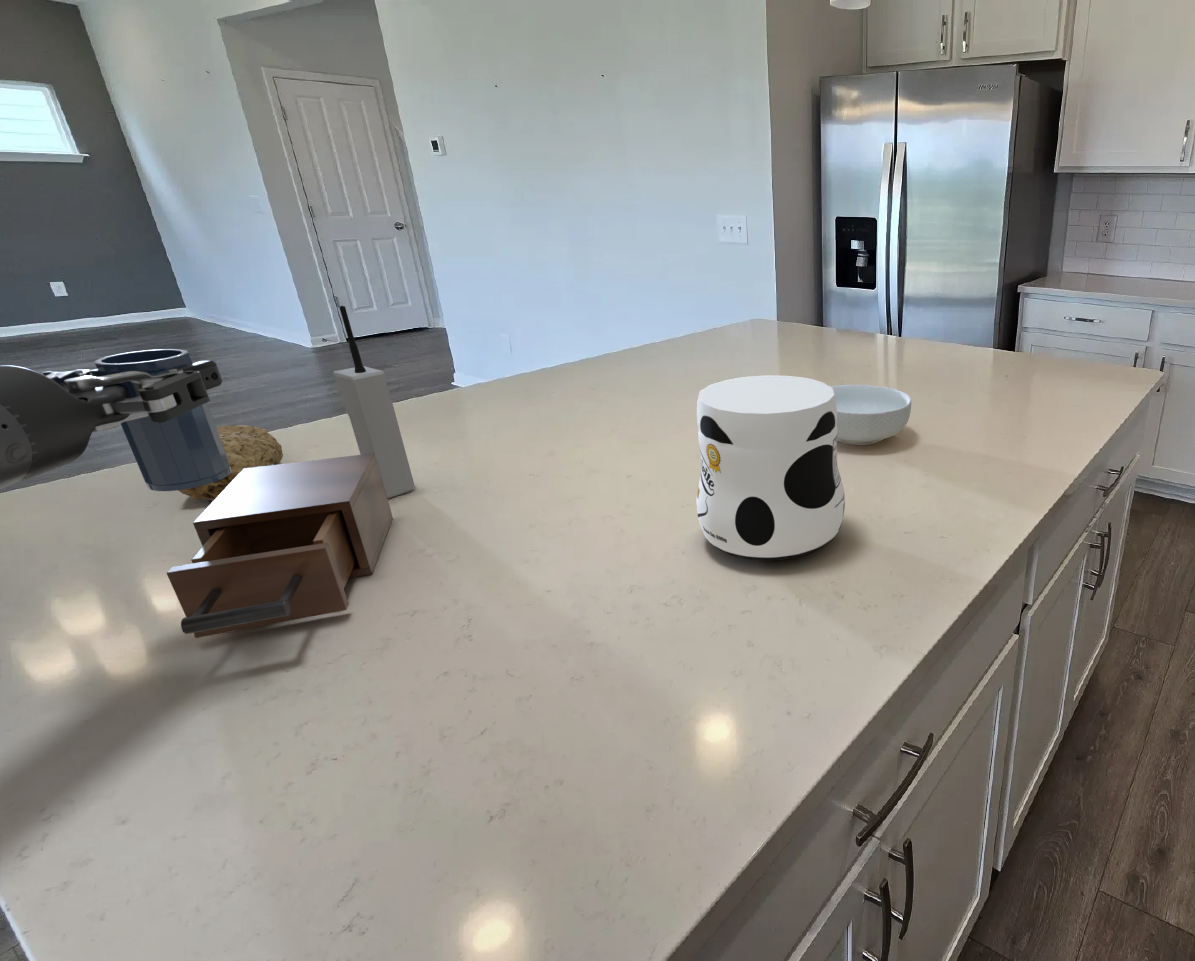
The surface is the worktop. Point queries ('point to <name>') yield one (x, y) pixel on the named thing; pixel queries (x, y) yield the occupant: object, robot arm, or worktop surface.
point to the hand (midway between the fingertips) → (176, 372)
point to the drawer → (265, 574)
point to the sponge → (240, 456)
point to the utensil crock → (170, 430)
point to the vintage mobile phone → (374, 418)
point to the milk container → (769, 466)
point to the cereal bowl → (869, 413)
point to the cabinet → (309, 500)
